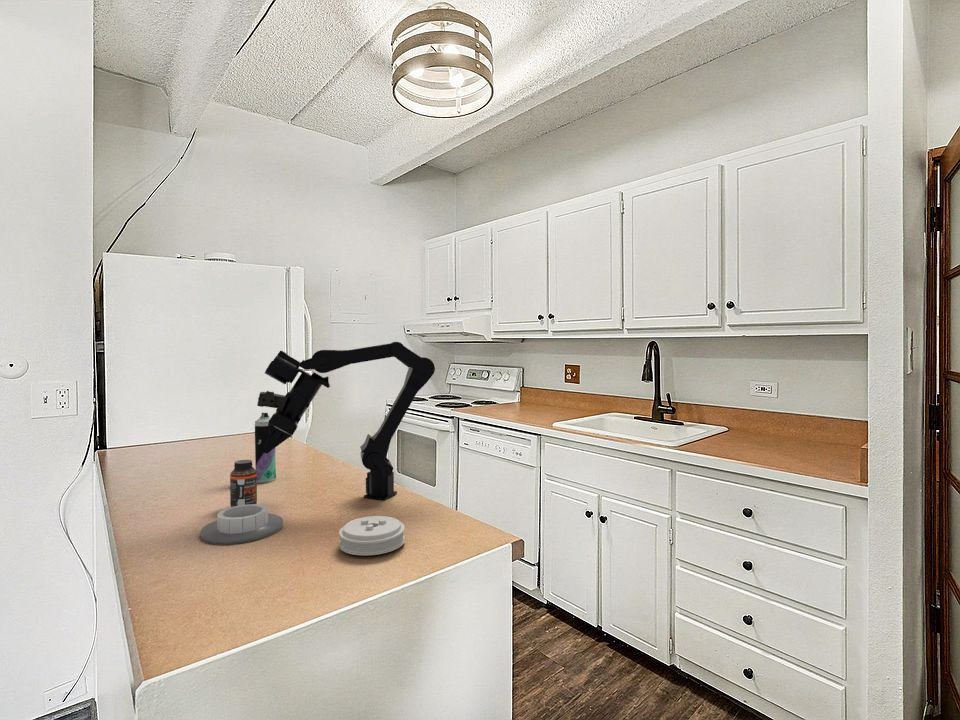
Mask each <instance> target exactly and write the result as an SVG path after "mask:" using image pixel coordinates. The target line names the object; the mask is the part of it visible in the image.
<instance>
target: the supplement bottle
mask: <svg viewBox="0 0 960 720" xmlns="http://www.w3.org/2000/svg"><path fill="white" fill-rule="evenodd" d="M233 466H234V468H233V470H232V471H231V472H230V474H229V487H230V488H229V489H230V491H229V494H230V495H229V496H230V497H229V499H230V501H229V502H230V504H229V505H230V507H234V506H239V505H248V504H258V491H257V490H258V484H257V472H256V468H254V467H253V460H251V459H241V460H235V461H234V465H233Z"/></svg>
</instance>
